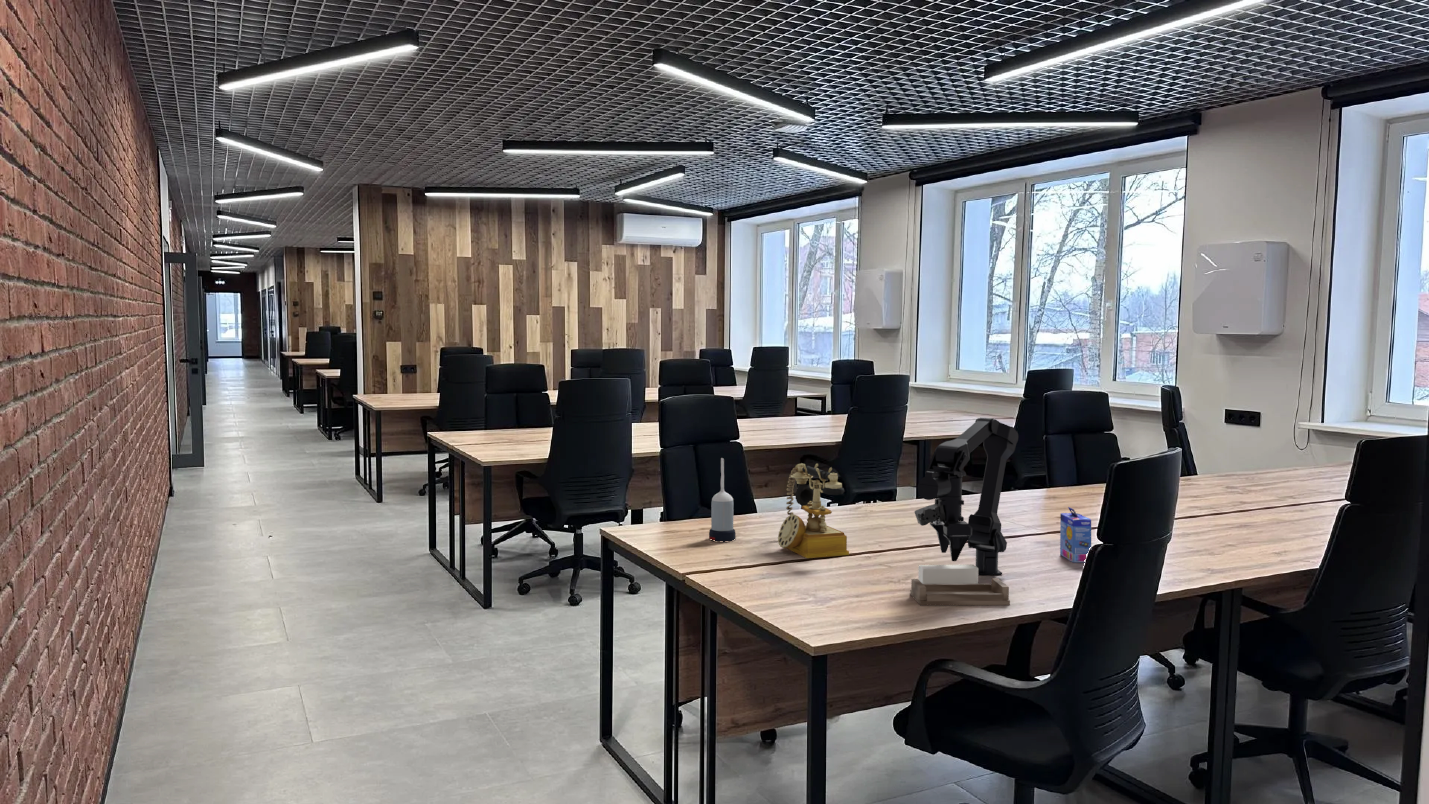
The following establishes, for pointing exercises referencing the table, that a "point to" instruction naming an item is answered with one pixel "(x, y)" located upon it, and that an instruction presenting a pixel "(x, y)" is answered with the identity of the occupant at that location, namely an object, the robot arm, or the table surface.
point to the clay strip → (948, 574)
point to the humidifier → (722, 514)
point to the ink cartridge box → (1074, 536)
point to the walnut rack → (960, 593)
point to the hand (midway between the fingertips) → (948, 556)
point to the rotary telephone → (815, 534)
